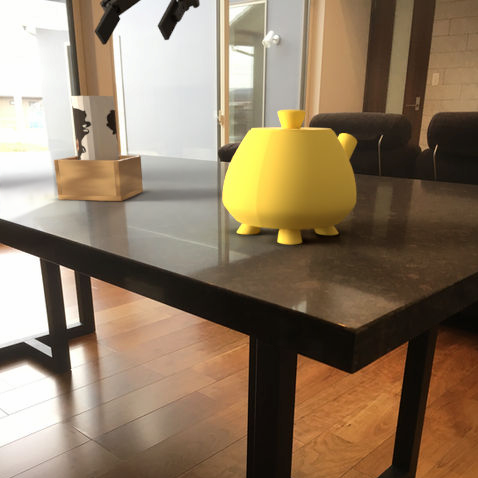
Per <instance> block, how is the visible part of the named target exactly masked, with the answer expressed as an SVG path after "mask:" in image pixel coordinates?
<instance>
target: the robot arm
mask: <svg viewBox="0 0 478 478" xmlns="http://www.w3.org/2000/svg"><path fill="white" fill-rule="evenodd" d="M141 1H142V0H101V1H100V2H99V5H100V7H101V9H102V10H103V11H104V12H103V14H102V16H101V17H100V20H99V22H98V24H97V25H96V28H95V29H94V31H93V32H94V34H95V35H96V37H97V38H98V39H99V41H100V42H101V44H102V45H103V46H104V45H107V43H108V42H109V40H110V38H111V36H112V35H113V33H114V31H115V29H116V28H117V26H118V24H119V23H120V20H121V17H120V16H121V15H123V14H124V13H126V12H127V11H129V10H130V9H131V8H132V7H134V6H135V5H136V4H138V3H139V2H141ZM200 6H201V3H200V0H170V2H169V3H168V5H167V7H166V9H165V10H164V13H163V15H162V16H161V18H160V20H159V22H158V23H157V28H158V30H159V32H160V34H161V36H162V37H163V40H164V41H169V40H170V38H171V36H172V34H173V32H174V30H175V28H176V27H177V24H178V23H180V22H181V20H182V19H183V17H184V15H185V13H186V12H188V11H189V10H190V8H191V7H192V8H193V9H198V8H200Z"/></svg>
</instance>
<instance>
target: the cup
mask: <svg viewBox="0 0 478 478" xmlns="http://www.w3.org/2000/svg"><path fill="white" fill-rule="evenodd" d="M70 98H71V106H72V116H73V124H74V133H75V140H76V141H75V143H76V150H77V151H76V153H77V156H78V160H115V161H116V160H119V155H120V154H119V143H118V131H117V120H116V119H117V118H116V106H115V96H113V95H71V97H70Z"/></svg>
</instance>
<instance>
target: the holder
mask: <svg viewBox="0 0 478 478" xmlns="http://www.w3.org/2000/svg"><path fill="white" fill-rule="evenodd" d="M53 164H54V165H53V166H54V173H55V181H56V189H57V196H58V200H60V201H62V200H64V201H98V202H99V201H100V202H101V201H103V202H123V201H126V200H128V199H130V198H132V197H134V196H136V195H139V194H141V193H143V192H144V187H143V186H144V184H143V171H142V170H143V169H142V156H141V155H129V154H128V155H127V154H124V155H123V154H119V160H116V161H115V160H78V155H73V156H67V157H63V158H57V159H53Z"/></svg>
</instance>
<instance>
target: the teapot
mask: <svg viewBox="0 0 478 478" xmlns="http://www.w3.org/2000/svg"><path fill="white" fill-rule="evenodd" d="M306 114H307V111H306V110H304V109H280V110H278V111H277V116H278V120H279V123H280V127H279V126H278V127H277V126H275V127H271V126H270V127H252V128H251V129H249V130H248V131H247V133H246V134H245V136H244V138H243V139H242V141H241V142H240V144H239V146H238V148H236V151H235V153H234V155H233V156H232V158H231V161H230V163H229V165H228V168H227V171H226V173H225V177H224V181H223V187H222V204H223V206H224V207H225V209H226V210H227V211H228V213H229V214H230V216H232V217H233V218H234V220H235V221H237V222H239V223H240V226H239V228H238V229H237V230H236V233H237V234H240V235H257V234H259V233H260V232H261V230H262V228H264V229H271V230H272V229H273V230H274V229H275V230H278V233H277V243H279V244H281V245H298V244H302V243H303V238H302V232H301V231H302V230H314V232H315V234H317V235H321V236H336V235H338V234H339V232H338V230H337V228H336V227H335V226H336V225H339V224H340V223H342V221H344V220H345V218H347V217H348V215H349V214H350V213H351V212H352V211H353V210H354V208H355V207H356V204H357V195H358V193H357V183H356V176H355V174H354V170H353V167H352V164H351V161H350V160H351V157H352V156H353V153H354V151H355V149H356V147H357V144H358V140H357V138H356V137H355V136H354V135H352V134H349V133H343V132H342V133H339V135H337V134H336V132H335V131H334V130H332V128H328V127H302V125H303V123H304V120H305V117H306Z"/></svg>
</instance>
